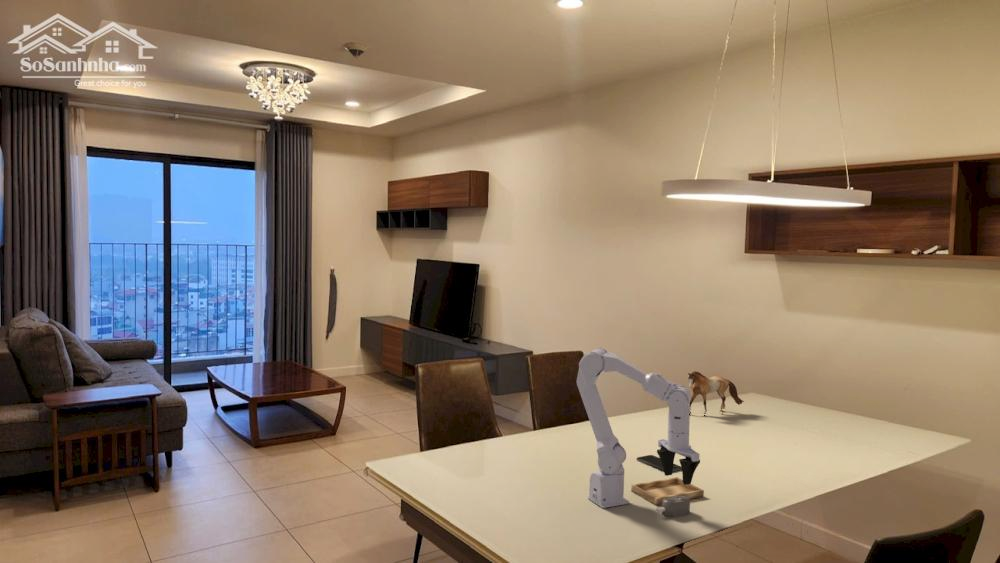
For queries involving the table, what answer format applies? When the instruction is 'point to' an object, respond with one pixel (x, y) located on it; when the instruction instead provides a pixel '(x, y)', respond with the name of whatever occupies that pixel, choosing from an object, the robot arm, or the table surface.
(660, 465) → the phone
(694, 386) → the horse figurine
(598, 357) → the robot arm
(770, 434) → the table surface
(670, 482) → the oak tray
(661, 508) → the grey rounded long block
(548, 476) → the table surface
